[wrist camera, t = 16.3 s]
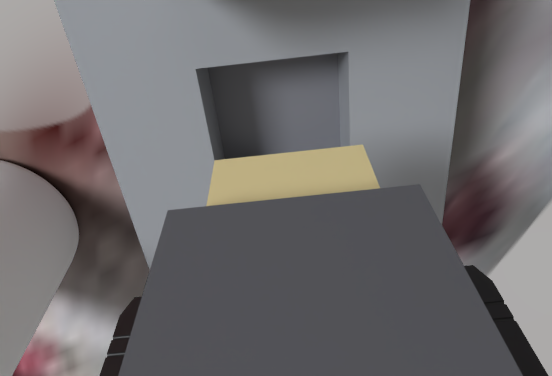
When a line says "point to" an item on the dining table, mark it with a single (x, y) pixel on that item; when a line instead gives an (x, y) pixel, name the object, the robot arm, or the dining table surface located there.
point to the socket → (266, 89)
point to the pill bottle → (30, 256)
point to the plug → (310, 280)
